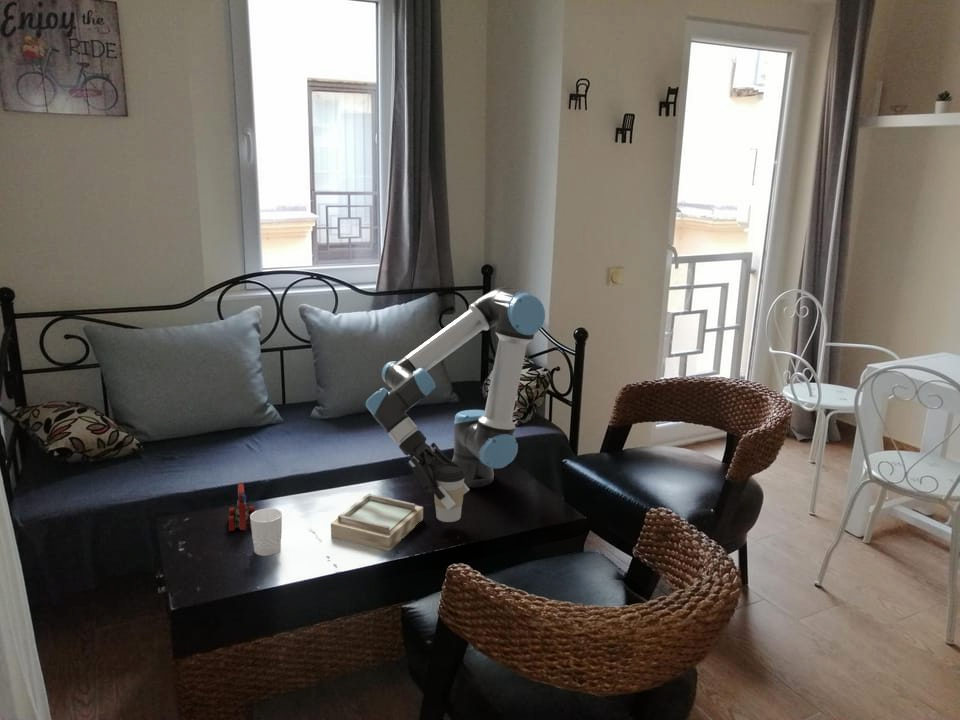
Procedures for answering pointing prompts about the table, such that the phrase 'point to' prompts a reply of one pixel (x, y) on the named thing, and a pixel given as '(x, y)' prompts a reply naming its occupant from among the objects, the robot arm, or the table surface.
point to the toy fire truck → (240, 512)
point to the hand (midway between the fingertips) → (459, 499)
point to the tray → (377, 521)
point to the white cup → (266, 531)
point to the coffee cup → (450, 490)
